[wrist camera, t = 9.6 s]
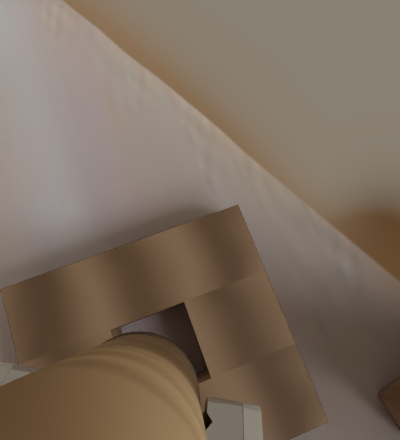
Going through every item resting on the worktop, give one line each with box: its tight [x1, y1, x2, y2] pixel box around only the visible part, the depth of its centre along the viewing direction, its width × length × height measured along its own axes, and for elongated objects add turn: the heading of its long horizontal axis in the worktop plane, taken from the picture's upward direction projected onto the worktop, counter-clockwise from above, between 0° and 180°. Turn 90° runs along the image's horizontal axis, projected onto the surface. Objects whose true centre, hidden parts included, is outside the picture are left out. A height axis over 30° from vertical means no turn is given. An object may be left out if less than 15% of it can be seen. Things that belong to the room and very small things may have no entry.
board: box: [0, 205, 328, 440], centre depth 26 cm, size 18×16×4 cm
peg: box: [0, 332, 207, 440], centre depth 10 cm, size 4×4×12 cm
